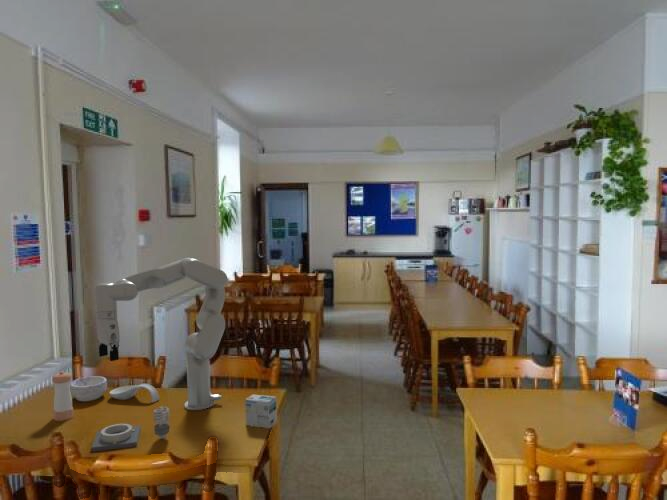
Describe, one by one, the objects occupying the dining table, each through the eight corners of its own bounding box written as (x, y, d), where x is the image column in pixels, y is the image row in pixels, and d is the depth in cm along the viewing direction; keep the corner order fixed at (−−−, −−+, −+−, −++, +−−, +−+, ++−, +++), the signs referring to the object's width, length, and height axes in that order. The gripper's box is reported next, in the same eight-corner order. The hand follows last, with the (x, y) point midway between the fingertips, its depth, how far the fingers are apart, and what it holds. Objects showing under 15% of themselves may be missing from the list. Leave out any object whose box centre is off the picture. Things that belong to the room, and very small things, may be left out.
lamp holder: (140, 429, 201) (140, 419, 200) (136, 446, 186) (136, 435, 186) (98, 434, 197) (97, 424, 196) (91, 451, 182) (90, 440, 182)
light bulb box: (277, 422, 206) (277, 396, 205) (270, 429, 199) (269, 401, 199) (253, 419, 209) (252, 393, 209) (245, 426, 203) (244, 399, 202)
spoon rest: (104, 401, 233) (103, 385, 233) (122, 392, 244) (121, 377, 244) (148, 406, 226) (148, 390, 225) (165, 397, 237) (164, 381, 237)
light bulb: (156, 436, 194) (155, 404, 194) (171, 435, 195) (170, 404, 194) (152, 442, 189) (151, 410, 188) (168, 442, 189) (167, 409, 188)
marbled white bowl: (98, 404, 229) (97, 386, 228) (63, 404, 229) (62, 386, 228) (113, 392, 244) (112, 375, 243) (81, 392, 244) (80, 375, 244)
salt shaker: (77, 415, 216) (75, 370, 214) (61, 422, 209) (59, 375, 208) (65, 413, 219) (63, 368, 217) (49, 419, 212) (47, 373, 211)
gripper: (126, 316, 199) (128, 360, 200) (106, 310, 211) (108, 352, 212) (106, 319, 194) (108, 364, 195) (87, 313, 206) (90, 356, 207)
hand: (108, 358), depth 204 cm, fingers open, 9 cm apart
